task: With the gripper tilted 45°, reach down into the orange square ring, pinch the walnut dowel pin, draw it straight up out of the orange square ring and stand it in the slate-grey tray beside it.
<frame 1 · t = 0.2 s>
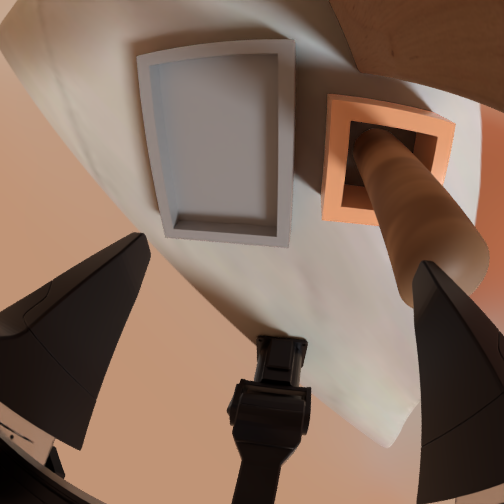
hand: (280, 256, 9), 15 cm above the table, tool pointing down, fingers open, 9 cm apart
wooden block: (365, 14, 13), on the table
dowel pin: (402, 191, 14), in the orange square ring
orange square ring: (377, 152, 20), on the table
tray: (224, 142, 21), on the table
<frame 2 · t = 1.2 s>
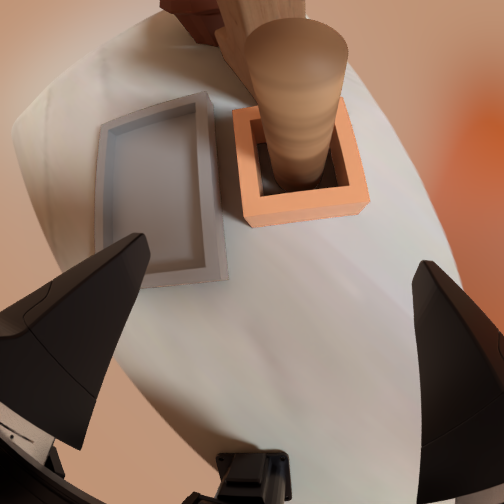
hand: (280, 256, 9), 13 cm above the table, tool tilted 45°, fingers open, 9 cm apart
wooden block: (262, 75, 24), on the table
dowel pin: (298, 128, 16), in the orange square ring
orange square ring: (297, 170, 22), on the table
muffin: (226, 25, 26), on the table
tray: (159, 194, 24), on the table
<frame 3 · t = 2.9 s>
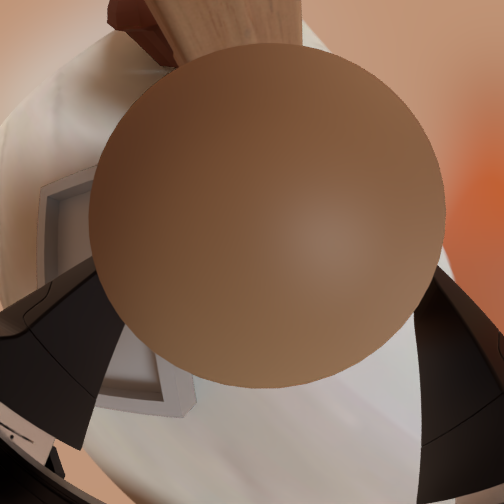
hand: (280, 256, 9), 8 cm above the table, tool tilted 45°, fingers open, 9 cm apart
wooden block: (242, 112, 18), on the table
dowel pin: (282, 255, 10), in the orange square ring
muffin: (199, 39, 20), on the table
tray: (109, 287, 18), on the table
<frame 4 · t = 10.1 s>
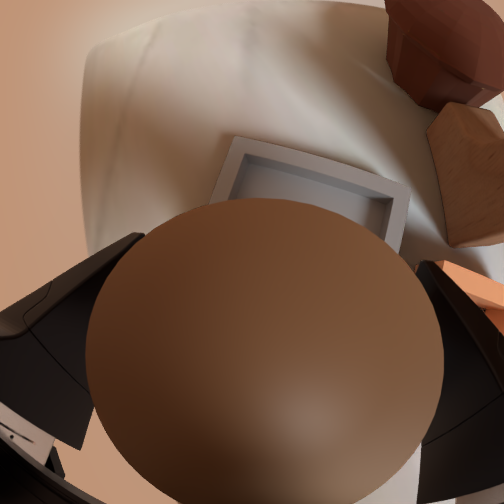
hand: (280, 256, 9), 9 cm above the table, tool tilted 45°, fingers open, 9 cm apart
wooden block: (459, 187, 17), on the table
dowel pin: (279, 310, 9), in the tray, point 8 cm above the table
orange square ring: (446, 341, 15), on the table
muffin: (430, 78, 18), on the table
tray: (284, 292, 17), on the table
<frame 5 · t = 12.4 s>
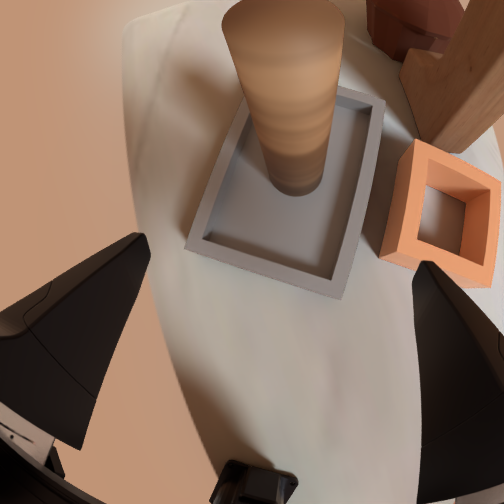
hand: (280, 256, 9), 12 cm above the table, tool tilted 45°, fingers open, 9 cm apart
wooden block: (429, 113, 21), on the table
dowel pin: (292, 120, 14), in the tray, point 8 cm above the table
orange square ring: (434, 223, 19), on the table
muffin: (403, 43, 22), on the table
tray: (295, 175, 21), on the table
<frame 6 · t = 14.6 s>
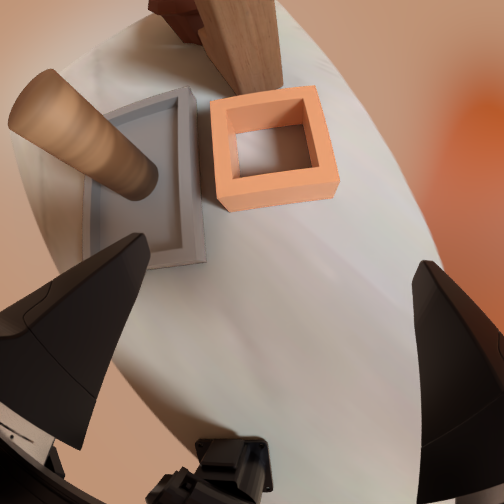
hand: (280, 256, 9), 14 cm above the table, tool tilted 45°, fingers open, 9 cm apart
wooden block: (243, 70, 25), on the table
dowel pin: (94, 146, 17), in the tray, point 8 cm above the table
orange square ring: (274, 157, 23), on the table
muffin: (212, 25, 27), on the table
tray: (144, 183, 25), on the table
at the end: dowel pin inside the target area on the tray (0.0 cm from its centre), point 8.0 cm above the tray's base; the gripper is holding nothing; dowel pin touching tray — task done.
